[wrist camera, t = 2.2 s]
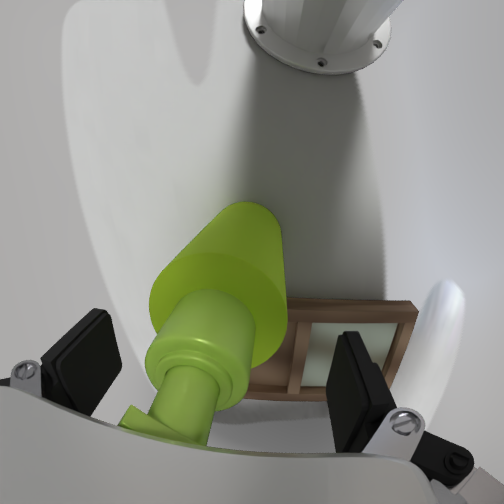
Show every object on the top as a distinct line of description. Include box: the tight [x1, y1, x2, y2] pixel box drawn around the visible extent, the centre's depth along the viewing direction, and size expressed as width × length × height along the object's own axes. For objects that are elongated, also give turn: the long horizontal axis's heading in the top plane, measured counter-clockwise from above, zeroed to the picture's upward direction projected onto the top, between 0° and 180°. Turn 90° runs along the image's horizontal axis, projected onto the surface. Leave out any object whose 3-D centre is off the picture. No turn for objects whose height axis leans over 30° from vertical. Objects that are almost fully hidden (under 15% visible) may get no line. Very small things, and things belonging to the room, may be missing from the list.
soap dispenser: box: [117, 202, 288, 446], centre depth 14 cm, size 6×7×20 cm
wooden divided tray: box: [243, 297, 419, 401], centre depth 24 cm, size 11×22×5 cm, turn 88°
